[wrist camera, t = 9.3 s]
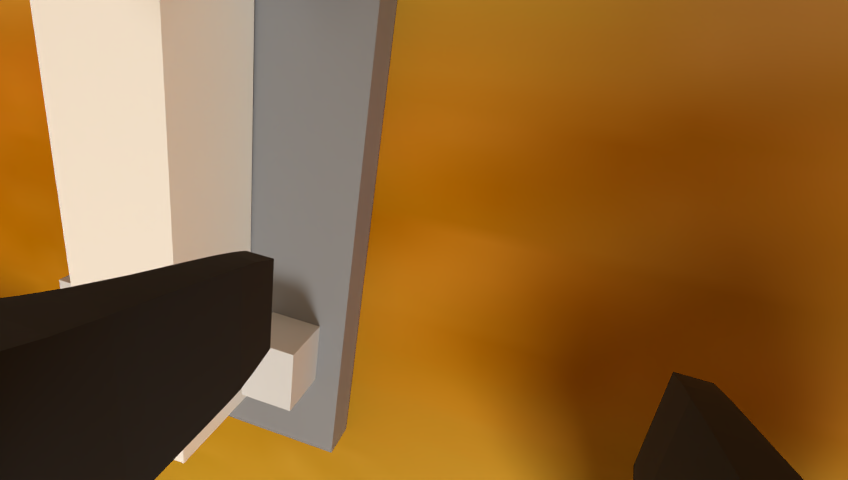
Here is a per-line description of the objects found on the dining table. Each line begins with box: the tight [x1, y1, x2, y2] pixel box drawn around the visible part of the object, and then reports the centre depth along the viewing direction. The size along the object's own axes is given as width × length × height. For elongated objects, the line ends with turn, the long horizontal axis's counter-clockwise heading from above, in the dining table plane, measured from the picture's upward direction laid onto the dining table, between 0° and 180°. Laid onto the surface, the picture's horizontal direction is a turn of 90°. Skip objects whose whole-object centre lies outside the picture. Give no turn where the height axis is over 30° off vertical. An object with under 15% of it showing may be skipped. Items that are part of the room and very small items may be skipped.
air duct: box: [30, 0, 254, 463], centre depth 17 cm, size 21×4×4 cm, turn 171°
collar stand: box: [59, 0, 397, 452], centre depth 18 cm, size 24×12×4 cm, turn 171°
